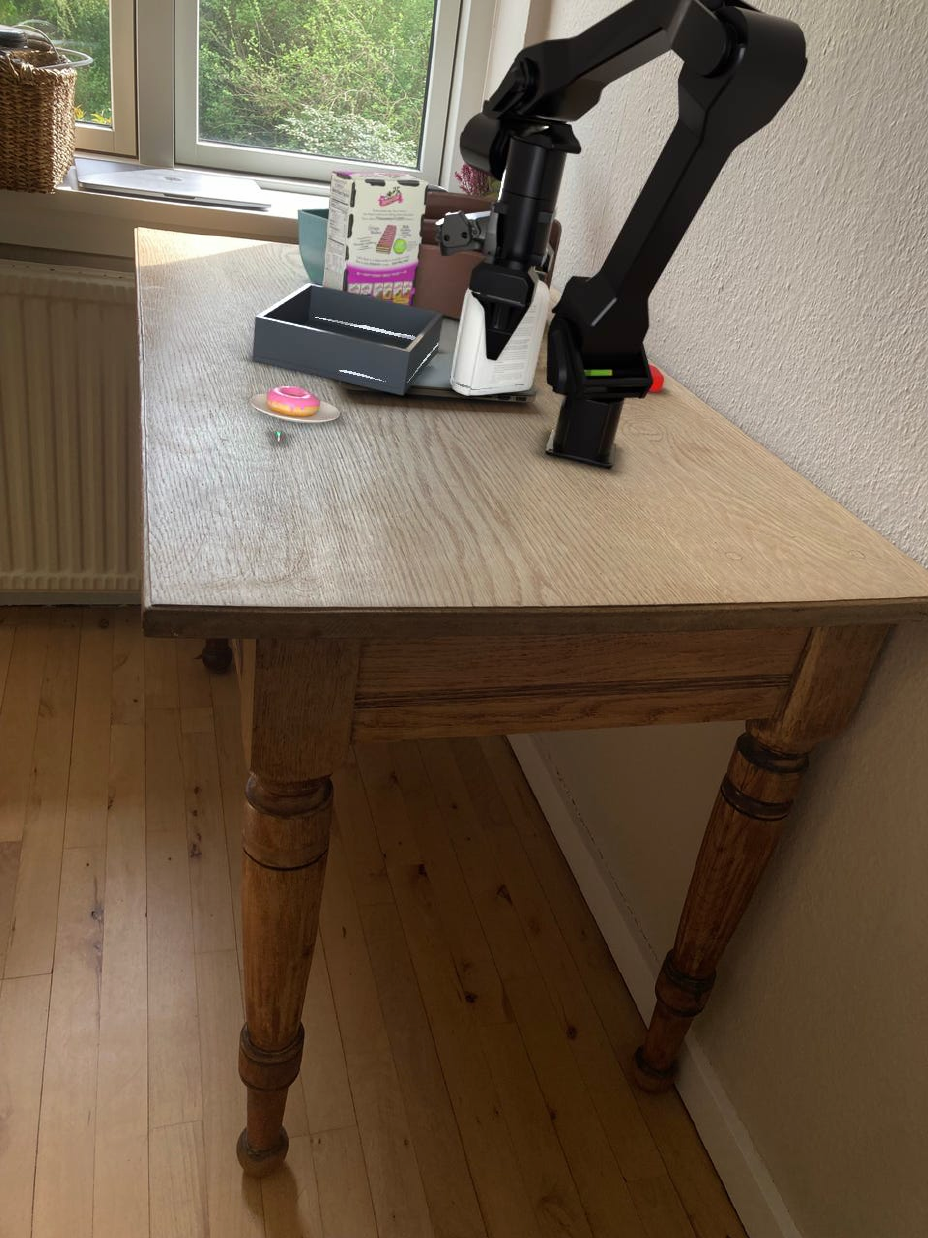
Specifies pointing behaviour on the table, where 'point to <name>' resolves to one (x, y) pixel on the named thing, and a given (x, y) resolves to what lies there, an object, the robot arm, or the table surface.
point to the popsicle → (657, 376)
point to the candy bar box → (374, 234)
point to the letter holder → (455, 256)
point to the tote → (347, 337)
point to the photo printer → (513, 360)
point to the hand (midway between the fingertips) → (498, 347)
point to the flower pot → (313, 241)
